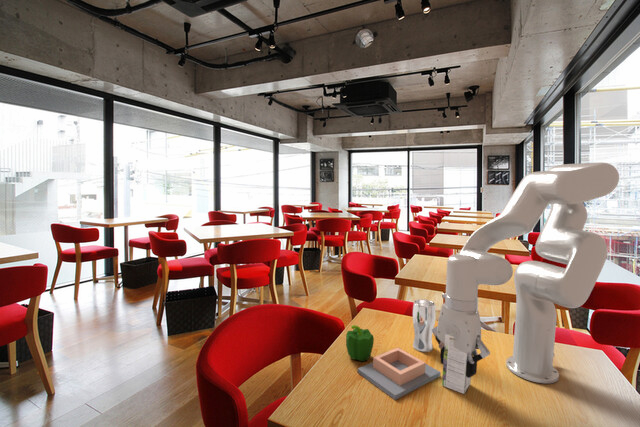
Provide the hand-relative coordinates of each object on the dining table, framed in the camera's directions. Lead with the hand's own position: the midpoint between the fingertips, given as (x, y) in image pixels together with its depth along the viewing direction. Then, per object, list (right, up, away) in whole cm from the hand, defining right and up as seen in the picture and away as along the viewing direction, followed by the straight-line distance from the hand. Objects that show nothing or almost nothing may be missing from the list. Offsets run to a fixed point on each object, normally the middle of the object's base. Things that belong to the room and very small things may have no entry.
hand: (457, 368), depth 86 cm
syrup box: (0, -5, 0) cm, 5 cm away
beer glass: (-3, -3, +20) cm, 21 cm away
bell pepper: (-24, -3, +14) cm, 28 cm away
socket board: (-14, -4, +5) cm, 16 cm away
